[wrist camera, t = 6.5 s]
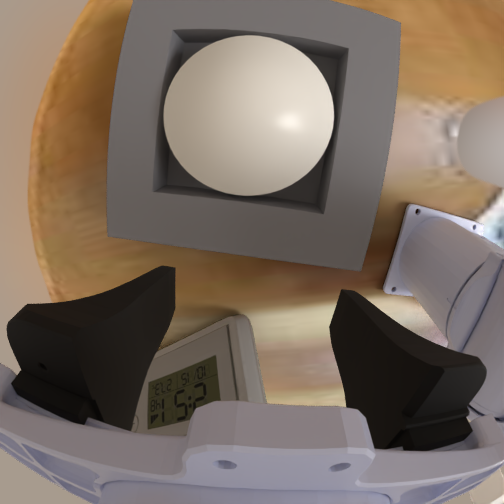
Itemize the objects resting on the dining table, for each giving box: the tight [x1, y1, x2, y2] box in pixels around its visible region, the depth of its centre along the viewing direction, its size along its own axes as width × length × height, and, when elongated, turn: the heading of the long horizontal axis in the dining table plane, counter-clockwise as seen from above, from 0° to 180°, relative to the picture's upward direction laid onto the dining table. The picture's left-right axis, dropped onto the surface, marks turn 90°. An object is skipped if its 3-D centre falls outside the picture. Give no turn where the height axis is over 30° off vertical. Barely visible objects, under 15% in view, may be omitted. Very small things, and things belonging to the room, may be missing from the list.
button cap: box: [164, 35, 334, 196], centre depth 17 cm, size 10×10×3 cm
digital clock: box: [131, 315, 267, 436], centre depth 22 cm, size 16×9×11 cm, turn 112°
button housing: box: [107, 0, 401, 271], centre depth 17 cm, size 18×18×4 cm
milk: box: [467, 419, 504, 504], centre depth 24 cm, size 6×6×22 cm
